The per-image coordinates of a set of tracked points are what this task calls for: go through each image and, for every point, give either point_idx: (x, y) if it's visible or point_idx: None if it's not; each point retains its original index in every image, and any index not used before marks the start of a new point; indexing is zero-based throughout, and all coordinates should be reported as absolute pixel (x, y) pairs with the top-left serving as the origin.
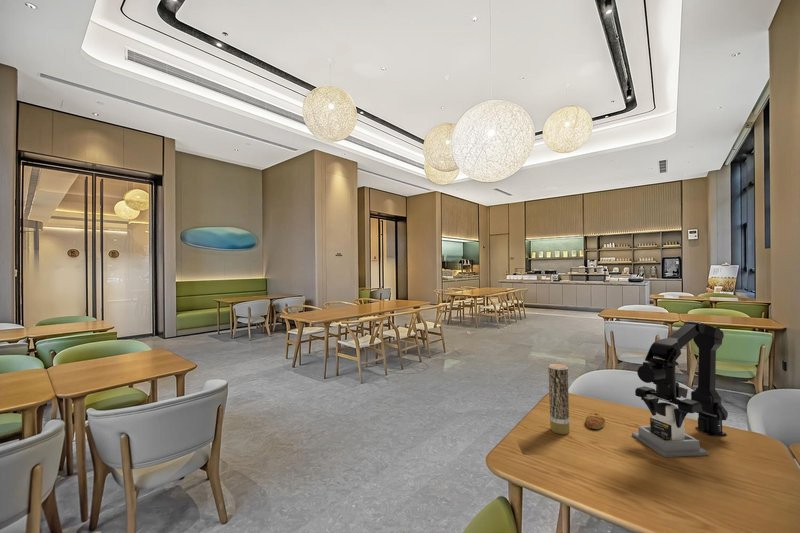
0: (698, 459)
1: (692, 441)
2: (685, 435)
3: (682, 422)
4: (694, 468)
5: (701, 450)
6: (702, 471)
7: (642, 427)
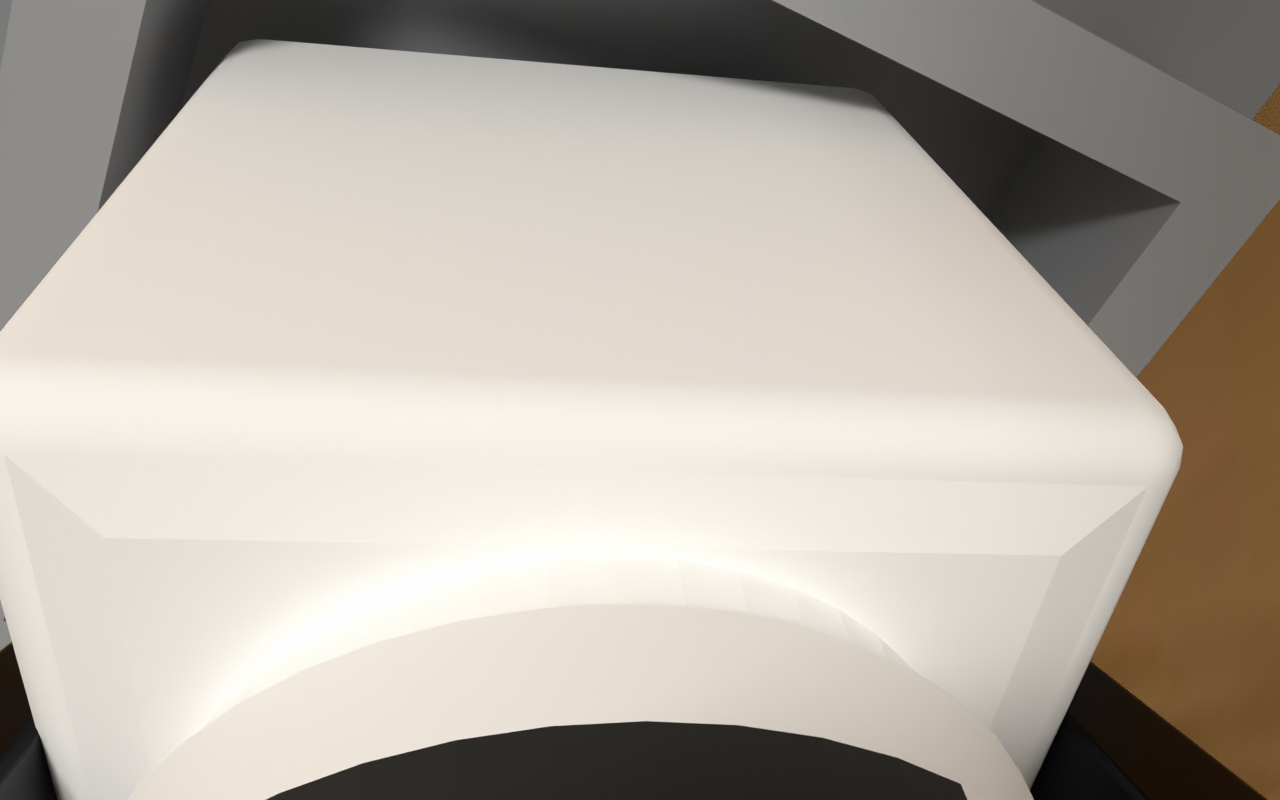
0: (1151, 366)
1: (1160, 330)
2: (918, 72)
3: (1203, 766)
4: (1150, 668)
5: (1203, 67)
6: (1245, 655)
7: (1, 635)
